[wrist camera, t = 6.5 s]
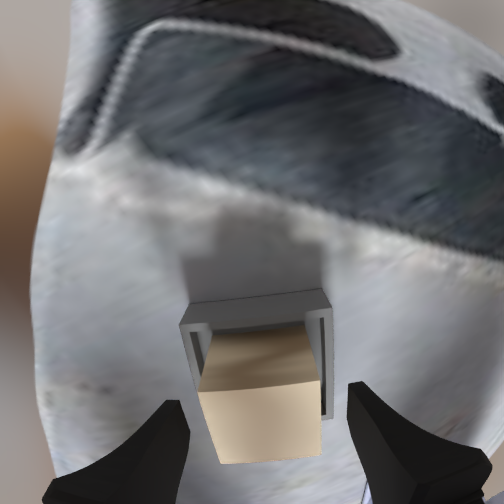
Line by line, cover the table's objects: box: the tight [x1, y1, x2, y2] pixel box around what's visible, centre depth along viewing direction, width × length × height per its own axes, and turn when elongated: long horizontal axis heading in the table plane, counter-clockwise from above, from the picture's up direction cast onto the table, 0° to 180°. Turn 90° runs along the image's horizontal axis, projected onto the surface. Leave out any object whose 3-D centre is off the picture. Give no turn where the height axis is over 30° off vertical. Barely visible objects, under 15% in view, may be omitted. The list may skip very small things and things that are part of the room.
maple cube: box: [197, 325, 321, 464], centre depth 13 cm, size 4×4×4 cm
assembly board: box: [179, 289, 334, 430], centre depth 16 cm, size 7×7×2 cm
